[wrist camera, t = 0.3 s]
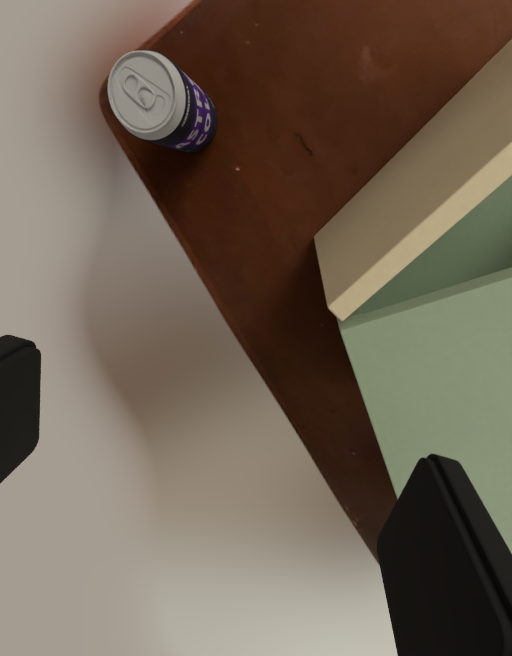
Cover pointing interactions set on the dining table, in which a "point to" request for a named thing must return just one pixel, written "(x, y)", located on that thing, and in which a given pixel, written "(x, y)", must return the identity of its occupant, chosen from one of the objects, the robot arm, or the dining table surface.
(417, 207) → the cupboard door
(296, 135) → the dining table surface
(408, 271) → the cupboard
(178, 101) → the beverage can
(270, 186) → the dining table surface
